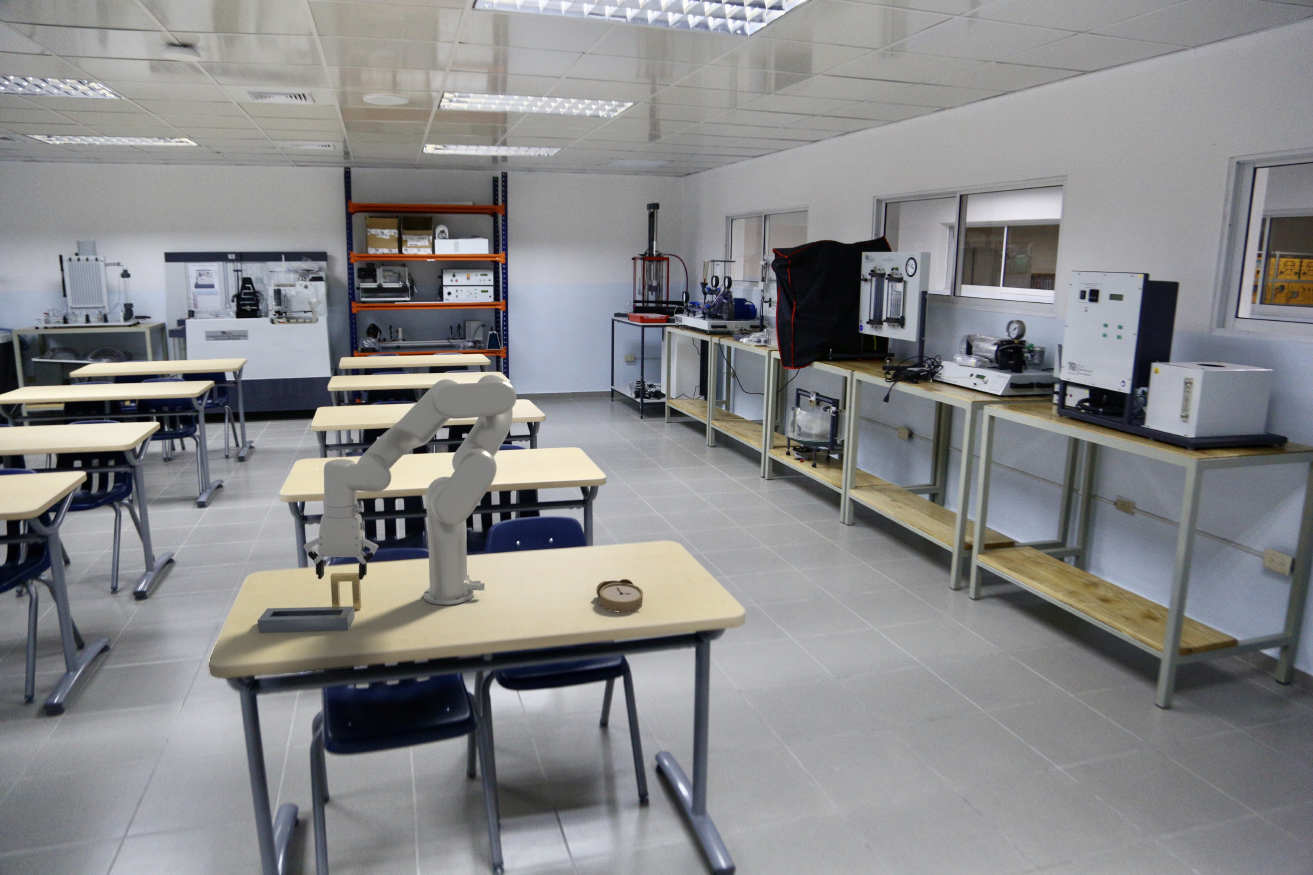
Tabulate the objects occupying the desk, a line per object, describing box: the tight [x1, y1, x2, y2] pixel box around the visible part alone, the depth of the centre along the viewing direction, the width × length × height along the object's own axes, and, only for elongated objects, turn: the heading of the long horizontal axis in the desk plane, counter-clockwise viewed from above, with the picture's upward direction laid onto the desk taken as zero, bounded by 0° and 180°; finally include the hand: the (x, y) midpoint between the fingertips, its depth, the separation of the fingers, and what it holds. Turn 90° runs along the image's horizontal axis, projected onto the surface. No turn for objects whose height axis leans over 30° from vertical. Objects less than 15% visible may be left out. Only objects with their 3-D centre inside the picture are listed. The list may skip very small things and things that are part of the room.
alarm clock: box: [596, 578, 644, 613], centre depth 220 cm, size 11×5×15 cm
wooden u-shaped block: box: [330, 572, 362, 611], centre depth 210 cm, size 7×2×9 cm, turn 97°
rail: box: [257, 605, 355, 633], centre depth 201 cm, size 20×7×3 cm, turn 97°
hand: (341, 577), depth 209 cm, fingers open, 9 cm apart
